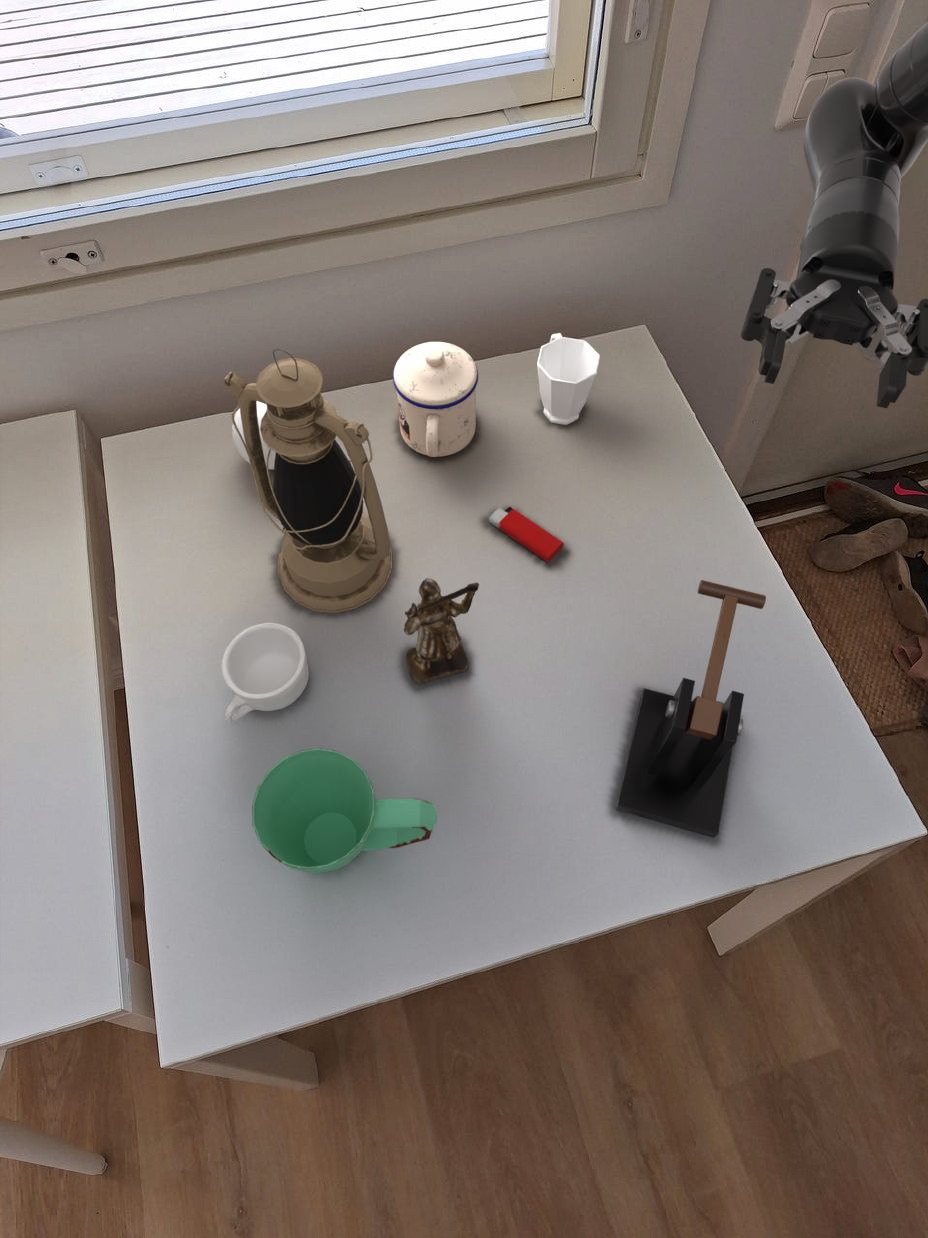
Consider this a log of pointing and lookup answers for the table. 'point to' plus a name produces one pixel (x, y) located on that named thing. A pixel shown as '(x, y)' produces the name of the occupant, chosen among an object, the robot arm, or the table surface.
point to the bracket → (678, 762)
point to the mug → (331, 813)
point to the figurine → (437, 632)
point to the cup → (565, 377)
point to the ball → (240, 447)
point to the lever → (717, 657)
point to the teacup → (264, 669)
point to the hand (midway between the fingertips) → (829, 387)
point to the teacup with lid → (436, 398)
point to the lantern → (315, 488)
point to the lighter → (526, 533)
